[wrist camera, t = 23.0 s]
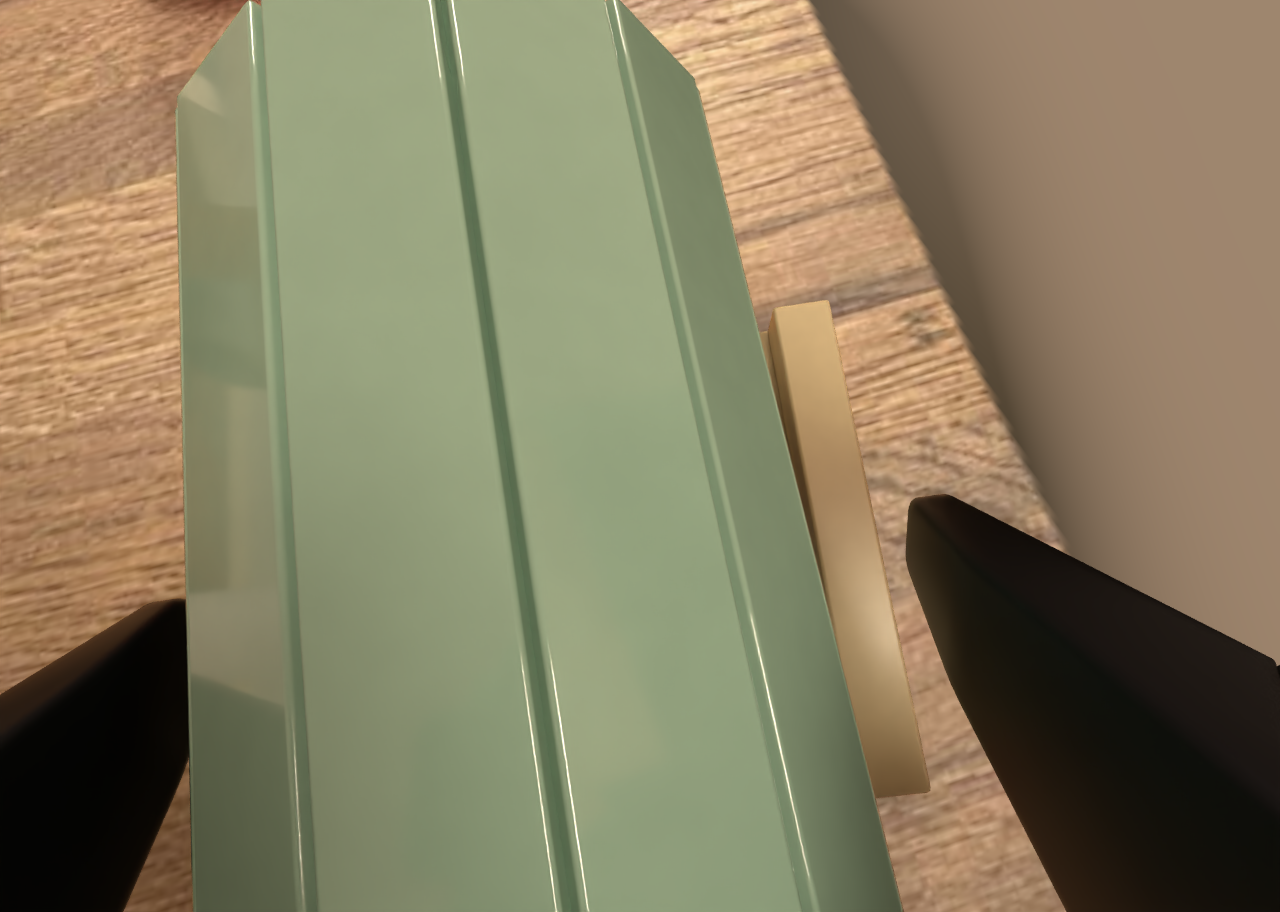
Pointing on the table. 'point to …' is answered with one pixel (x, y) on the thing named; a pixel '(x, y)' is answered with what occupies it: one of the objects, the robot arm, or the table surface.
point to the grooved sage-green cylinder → (491, 486)
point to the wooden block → (845, 540)
